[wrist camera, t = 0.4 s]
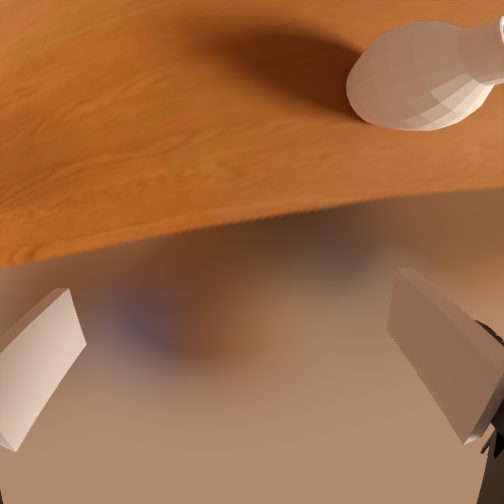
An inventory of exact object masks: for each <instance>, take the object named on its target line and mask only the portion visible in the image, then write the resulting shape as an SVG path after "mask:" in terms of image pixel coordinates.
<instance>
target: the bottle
mask: <svg viewBox="0 0 504 504" xmlns="http://www.w3.org/2000/svg"><path fill="white" fill-rule="evenodd" d="M500 83H504V15H502V16H500V17H498V18H497V20H496V21H493V22H489V23H486V24H483V25H479V26H476V27H473V28H470V29H465V28H462V27H459V26H455V25H452V24H448V23H444V22H440V21H426V22H414V23H407V24H404V25H402V26H399V27H396V28H394V29H391V30H389V31H388V32H386V33H384V34H382V35H381V36H380V37H378V38H377V39H376V40H375V41H374V42H373V43H372V44H371V45H370V46H369V47H368V48H367V49H366V50H365V51H364V52H363V53H362V55H361V56H360V57H359V59H358V60H357V61H356V63H355V65H354V66H353V68H352V69H351V71H350V73H349V74H348V78H347V81H346V95H347V97H348V100H349V103H350V105H351V107H352V108H353V109H354V111H355V112H356V114H357V115H358V116H360V117H361V118H362V119H363V120H364V121H366V122H368V123H370V124H373V125H375V126H379V127H385V128H390V129H398V130H427V131H431V130H435V129H439V128H443V127H446V126H449V125H452V124H455V123H458V122H459V121H461V120H462V119H464V118H465V117H467V116H468V115H470V114H471V113H472V112H474V111H475V110H476V109H478V108H479V107H480V106H481V105H482V104H483V102H484V100H485V99H486V97H487V96H488V94H489V93H490V91H491V89H492V88H493V86H494V85H495V84H500Z"/></svg>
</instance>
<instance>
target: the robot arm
mask: <svg viewBox="0 0 504 504" xmlns="http://www.w3.org/2000/svg"><path fill="white" fill-rule="evenodd" d="M387 331H388V332H389V334H390V335H391V337H392V338H393V339H394V341H395V342H396V344H397V345H398V346H399V348H400V349H401V351H402V352H403V354H404V355H405V356H406V358H407V359H408V361H409V362H410V364H411V365H412V366H413V368H414V369H415V370H416V372H417V374H418V375H419V376H420V378H421V380H422V381H423V382H424V384H425V385H426V387H427V389H428V390H429V392H430V393H431V395H432V396H433V397H434V399H435V401H436V402H437V404H438V405H439V407H440V408H441V410H442V412H443V413H444V415H445V416H446V418H447V419H448V421H449V423H450V424H451V426H452V427H453V429H454V431H455V432H456V434H457V435H458V437H459V439H460V440H461V442H462V444H463V445H465V444H466V443H469V442H471V441H473V440H475V439H478V438H479V437H482V436H483V434H484V432H485V430H486V429H487V428H488V426H489V424H490V423H492V425H493V426H494V427H495V430H494V432H493V433H492V435H491V436H490V438H489V439H488V441H487V442H486V444H485V445H484V447H483V448H482V450H481V453H482V454H483V453H484V452H485V450H486V449H487V448H488V446H489V452H488V458H487V463H486V468H485V472H484V477H483V481H482V485H481V489H480V493H479V497H478V501H477V504H504V340H503V339H502V338H501V337H499V336H497V334H496V333H495V332H494V331H493V330H492V329H491V328H489V327H488V326H487V325H485V324H483V323H481V322H479V321H477V320H474V319H473V318H471V317H470V316H469V315H468V314H467V313H466V312H465V311H463V310H462V309H461V308H460V307H459V306H457V305H456V304H455V303H454V302H453V301H452V300H450V299H449V298H448V297H447V296H446V295H444V294H443V293H442V292H441V291H439V290H438V289H437V288H436V287H434V286H433V285H432V284H431V283H429V282H428V281H427V280H426V279H425V278H423V277H422V276H421V275H420V274H418V273H417V272H416V271H414V270H413V269H412V268H407V269H396V270H395V275H394V283H393V291H392V299H391V306H390V312H389V320H388V325H387ZM85 345H86V342H85V339H84V336H83V333H82V330H81V327H80V324H79V321H78V318H77V315H76V311H75V308H74V305H73V301H72V298H71V295H70V291H69V288H57V289H54V290H53V291H52V292H51V293H49V294H48V295H47V296H46V297H45V298H44V299H42V300H41V301H40V302H39V303H38V304H37V305H35V306H34V307H33V308H32V309H31V310H30V311H29V312H27V314H25V315H24V316H23V317H22V318H21V319H20V320H19V321H18V322H16V323H15V324H14V325H13V326H12V327H11V328H10V329H9V330H8V331H7V332H6V333H5V334H4V335H2V336H1V337H0V445H1V446H3V447H5V448H7V449H10V450H12V451H14V452H16V451H17V450H18V448H19V446H20V444H21V443H22V441H23V439H24V438H25V436H26V434H27V433H28V431H29V429H30V428H31V426H32V424H33V423H34V421H35V420H36V418H37V416H38V415H39V413H40V412H41V410H42V408H43V407H44V405H45V404H46V402H47V401H48V399H49V398H50V396H51V395H52V393H53V392H54V390H55V389H56V387H57V385H58V384H59V383H60V381H61V380H62V378H63V377H64V375H65V374H66V372H67V371H68V369H69V368H70V367H71V365H72V364H73V362H74V361H75V359H76V358H77V357H78V355H79V354H80V352H81V351H82V350H83V348H84V347H85ZM0 504H3V501H2V496H1V491H0Z"/></svg>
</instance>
